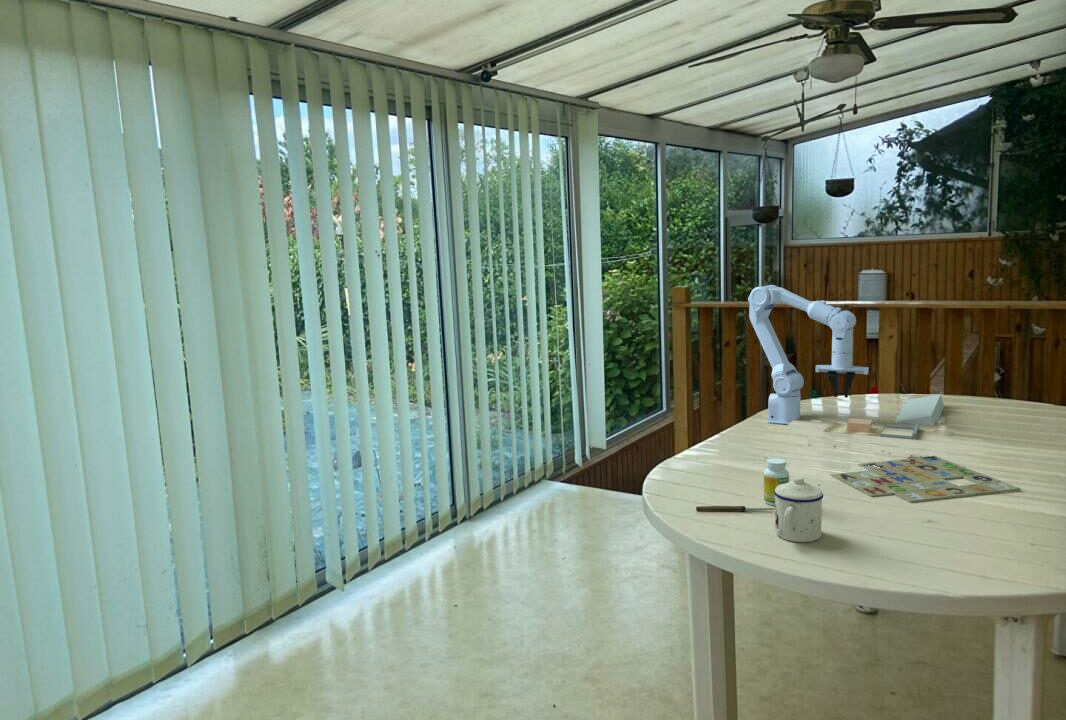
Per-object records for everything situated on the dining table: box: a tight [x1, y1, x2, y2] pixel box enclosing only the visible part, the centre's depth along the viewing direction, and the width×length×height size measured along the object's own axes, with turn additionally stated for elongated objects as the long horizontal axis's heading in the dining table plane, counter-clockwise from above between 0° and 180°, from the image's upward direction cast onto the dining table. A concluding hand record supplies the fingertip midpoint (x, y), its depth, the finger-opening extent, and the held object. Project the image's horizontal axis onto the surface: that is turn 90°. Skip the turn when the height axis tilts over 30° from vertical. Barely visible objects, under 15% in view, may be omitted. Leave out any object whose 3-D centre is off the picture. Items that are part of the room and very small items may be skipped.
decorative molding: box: [894, 393, 945, 427], centre depth 235 cm, size 34×5×10 cm
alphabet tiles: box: [830, 455, 1022, 504], centre depth 177 cm, size 33×28×1 cm
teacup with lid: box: [774, 476, 824, 543], centre depth 145 cm, size 12×9×12 cm
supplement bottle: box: [763, 457, 790, 507], centre depth 165 cm, size 5×5×10 cm
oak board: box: [823, 422, 885, 437], centre depth 218 cm, size 15×12×2 cm
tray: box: [879, 424, 920, 441], centre depth 212 cm, size 9×12×3 cm
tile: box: [846, 417, 873, 433], centre depth 217 cm, size 6×6×2 cm
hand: (841, 396), depth 223 cm, fingers open, 2 cm apart
